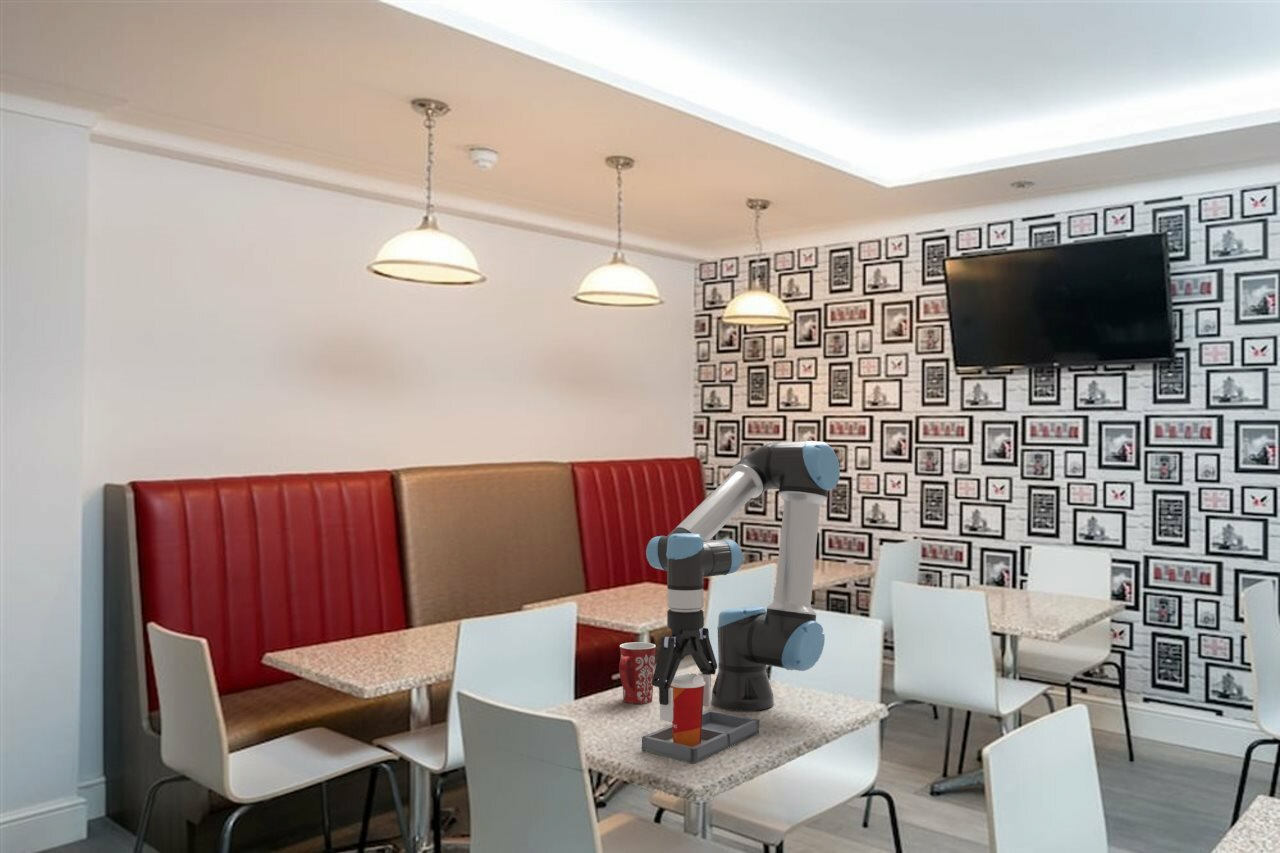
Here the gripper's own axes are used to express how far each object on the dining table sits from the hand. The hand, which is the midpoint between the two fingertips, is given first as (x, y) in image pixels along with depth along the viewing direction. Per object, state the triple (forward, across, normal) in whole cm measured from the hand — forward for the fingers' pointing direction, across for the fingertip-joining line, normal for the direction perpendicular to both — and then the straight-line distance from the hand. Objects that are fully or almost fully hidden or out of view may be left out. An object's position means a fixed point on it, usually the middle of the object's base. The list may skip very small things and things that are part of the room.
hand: (686, 712), depth 182 cm
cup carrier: (+7, -6, 0) cm, 9 cm away
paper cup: (+7, 0, 0) cm, 7 cm away
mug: (+8, -22, -31) cm, 39 cm away
